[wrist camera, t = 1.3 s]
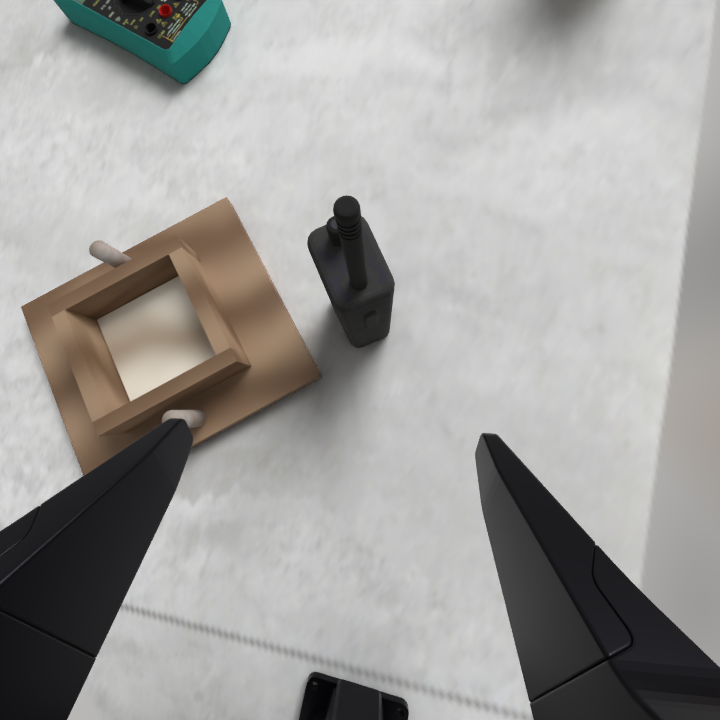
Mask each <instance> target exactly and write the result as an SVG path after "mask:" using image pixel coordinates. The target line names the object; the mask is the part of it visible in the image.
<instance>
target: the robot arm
mask: <svg viewBox="0 0 720 720" xmlns="http://www.w3.org/2000/svg"><path fill="white" fill-rule="evenodd" d="M192 444H193V435H192V432H191V430H190V428H189V426H188V424H187V422H186V421H185V420H184V419H182V418H170V419H168V420H166V421H165V422H163V423H162V424H160V425H159V426H157V427H156V428H154V429H153V430H151V431H150V432H148V433H147V434H145V435H144V436H142V437H141V438H139V439H138V440H136V441H135V442H133V443H132V444H130V445H129V446H127V447H126V448H125V449H123V450H122V451H120V452H119V453H117V454H116V455H114V456H113V457H111V458H110V459H108V460H107V461H105V462H104V463H102V464H101V465H99V466H98V467H96V468H95V469H93V470H92V471H90V472H89V473H87V474H86V475H84V476H83V477H81V478H80V479H78V480H77V481H75V482H74V483H72V484H71V485H69V486H68V487H66V488H65V489H63V490H62V491H60V492H59V493H57V494H56V495H54V496H53V497H51V498H50V499H48V500H47V501H45V502H44V503H42V504H41V506H38V507H36V508H35V509H33V510H32V511H30V512H29V513H27V514H26V515H24V516H23V517H21V518H20V519H18V520H17V521H15V522H14V523H12V524H11V525H9V526H8V527H6V528H5V529H3V530H2V531H0V720H67V718H68V716H69V714H70V712H71V710H72V708H73V706H74V704H75V702H76V700H77V697H78V695H79V693H80V691H81V689H82V687H83V685H84V683H85V681H86V679H87V676H88V674H89V672H90V670H91V668H92V666H93V664H94V662H95V660H96V658H95V657H97V655H98V653H99V651H100V649H101V647H102V644H103V642H104V640H105V638H106V636H107V634H108V632H109V630H110V628H111V626H112V623H113V621H114V619H115V617H116V615H117V613H118V611H119V609H120V607H121V605H122V602H123V600H124V598H125V596H126V594H127V592H128V590H129V588H130V586H131V584H132V581H133V579H134V577H135V575H136V573H137V571H138V569H139V567H140V565H141V563H142V560H143V558H144V556H145V554H146V552H147V550H148V548H149V546H150V544H151V541H152V539H153V537H154V535H155V533H156V531H157V529H158V527H159V525H160V523H161V520H162V518H163V516H164V514H165V512H166V510H167V508H168V506H169V504H170V502H171V499H172V497H173V495H174V493H175V491H176V488H177V486H178V483H179V481H180V478H181V475H182V472H183V469H184V467H185V464H186V461H187V458H188V455H189V453H190V450H191V447H192ZM475 459H476V467H477V474H478V482H479V490H480V498H481V505H482V510H483V515H484V519H485V523H486V527H487V532H488V536H489V540H490V544H491V548H492V552H493V556H494V560H495V564H496V568H497V572H498V576H499V580H500V584H501V588H502V592H503V596H504V600H505V604H506V608H507V612H508V616H509V621H510V625H511V629H512V633H513V637H514V641H515V645H516V649H517V653H518V657H519V661H520V665H521V669H522V673H523V677H524V681H525V685H526V689H527V693H528V697H529V701H530V702H531V703H530V706H531V710H532V714H533V718H534V720H720V667H719V666H717V665H716V663H714V662H713V661H712V660H711V659H710V658H709V657H708V656H707V655H706V654H705V653H704V652H703V651H702V650H701V649H700V648H699V647H698V646H697V645H696V644H695V643H694V642H693V641H692V640H691V639H689V638H688V637H687V636H686V635H685V634H684V633H683V632H682V631H681V630H680V629H679V628H678V627H677V626H676V625H675V624H674V623H673V622H672V621H671V620H670V619H669V618H668V617H667V616H666V615H664V613H663V612H662V611H660V610H659V609H658V608H657V607H656V606H655V605H654V604H653V603H652V602H651V601H650V600H649V599H648V598H647V597H646V596H645V595H644V594H643V593H642V592H641V591H640V590H639V589H638V588H637V587H636V586H635V585H634V584H633V583H632V582H631V581H630V580H629V579H628V577H627V576H626V575H625V574H624V573H623V572H622V571H621V570H620V569H619V568H618V567H617V566H616V565H615V564H614V563H613V562H612V560H611V559H610V558H609V557H608V556H607V555H606V554H605V553H604V552H603V551H602V549H601V548H600V547H599V546H598V545H595V542H594V541H593V540H592V539H591V537H590V536H589V535H588V534H587V533H586V532H585V531H584V530H583V529H582V528H581V526H580V525H579V524H578V523H577V522H576V521H575V520H574V519H573V518H572V517H571V515H570V514H569V513H568V512H567V511H566V510H565V509H564V508H563V507H562V505H561V504H560V503H559V502H558V501H557V500H556V499H555V498H554V497H553V496H552V494H551V493H550V492H549V491H548V490H547V489H546V488H545V487H544V486H543V485H542V483H541V482H540V481H539V480H538V479H537V478H536V477H535V476H534V475H533V473H532V472H531V471H530V470H529V469H528V468H527V467H526V466H525V465H524V464H523V462H522V461H521V460H520V459H519V458H518V457H517V456H516V455H515V454H514V452H513V451H512V450H511V449H510V448H509V447H508V446H507V445H506V444H505V443H504V441H503V440H502V439H501V438H500V437H499V436H498V435H497V434H492V433H483V434H481V436H480V439H479V442H478V445H477V448H476V452H475ZM313 681H315V682H317V683H318V685H314V684H313V683H312V682H313ZM398 708H402V709H403V711H398V710H397V709H398ZM408 715H409V711H408V704H407V702H406V701H405V700H404V699H403V698H400V697H397V696H393V695H390V694H387V693H384V692H380V691H378V690H376V689H372V688H369V687H366V686H362V685H359V684H356V683H353V682H349V681H346V680H343V679H342V680H341V679H338V678H335V677H331V676H328V675H325V674H322V673H318V672H313V673H311V674H310V675H309V678H308V681H307V685H306V690H305V694H304V699H303V704H302V708H301V713H300V717H299V720H408Z"/></svg>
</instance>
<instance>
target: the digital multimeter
mask: <svg viewBox="0 0 720 720" xmlns="http://www.w3.org/2000/svg"><path fill="white" fill-rule="evenodd" d="M54 1H55V2H56V4H57V5H58V6H59V7H60V9H61V10H62V11H63V12H64V14H65V15H66V16H67V17H68V19H69V20H70V21H71V22H72V23H74V24H77V25H79V26H81V27H83V28H85V29H87V30H89V31H91V32H93V33H95V34H97V35H99V36H101V37H103V38H105V39H107V40H109V41H111V42H113V43H115V44H117V45H118V46H120V47H122V48H124V49H126V50H128V51H130V52H131V53H133V54H135V55H136V56H138V57H140V58H141V59H143V60H145V61H146V62H148V63H150V64H151V65H153V66H155V67H156V68H158V69H159V70H161V71H163V72H164V73H166V74H167V75H169V76H170V77H172V78H173V79H175V80H177V81H178V82H180V83H182V84H185V83H187V82H188V81H189V80H190V79H192V78H193V77H194V76H195V75H196V74H198V73H199V72H200V71H201V70H202V69H203V68H204V67H205V66H206V65H207V64H208V63H209V62H210V60H211V59H212V58H213V56H214V55H215V54H216V53H217V51H218V50H219V48H220V46H221V44H222V42H223V41H224V39H225V37H226V34H227V32H228V30H229V28H230V25H231V22H230V20H229V17H228V15H227V12H226V9H225V7H224V4H223V2H222V0H54ZM89 8H90V9H89ZM94 11H95V12H94ZM96 12H97V13H96ZM98 13H99V14H98ZM122 13H123V14H122ZM100 14H101V15H100ZM105 17H106V18H105ZM107 18H108V19H107ZM109 19H110V20H109ZM114 22H115V23H114ZM116 23H117V24H116ZM118 24H119V25H118ZM120 25H121V26H120ZM125 28H126V29H125ZM127 29H128V30H127ZM129 30H130V31H129ZM131 31H132V32H131ZM138 35H139V36H138ZM140 36H141V37H140ZM142 37H143V38H142ZM149 41H150V42H149ZM151 42H152V43H151ZM153 43H154V44H153Z"/></svg>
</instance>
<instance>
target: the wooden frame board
mask: <svg viewBox="0 0 720 720" xmlns="http://www.w3.org/2000/svg"><path fill="white" fill-rule="evenodd" d="M89 251H90V254H91V255H92V256H94V257H95V258H97V259H99V260H101V261H103V262H104V263H102V264H100V265H98V266H96V267H95V268H93V269H91V270H89V271H87V272H85V273H83V274H82V275H80V276H78V277H76V278H74V279H72V280H70V281H68V282H67V283H65V284H63V285H61V286H59V287H57V288H55V289H53V290H52V291H50V292H48V293H46V294H44V295H42V296H40V297H38V298H37V299H35V300H33V301H31V302H29V303H27V304H25V305H23V306H22V307H21V308H22V311H23V314H24V316H25V319H26V322H27V324H28V327H29V330H30V333H31V335H32V338H33V341H34V343H35V346H36V349H37V351H38V354H39V357H40V359H41V362H42V365H43V368H44V370H45V373H46V376H47V378H48V381H49V384H50V386H51V389H52V392H53V394H54V397H55V400H56V403H57V405H58V408H59V411H60V413H61V416H62V419H63V421H64V424H65V427H66V430H67V432H68V435H69V438H70V440H71V443H72V446H73V448H74V451H75V454H76V456H77V459H78V462H79V465H80V467H81V470H82V473H83V475H86V474H87V473H89V472H90V471H92V470H93V469H95V468H96V467H98V466H99V465H101V464H102V463H104V462H105V461H107V460H108V459H110V458H111V457H113V456H114V455H116V454H117V453H119V452H120V451H122V450H123V449H125V448H126V447H127V446H129V445H130V444H132V443H133V442H135V441H136V440H138V439H139V438H141V437H142V436H144V435H145V434H147V433H148V432H150V431H151V430H153V429H154V428H156V427H157V426H159V425H160V424H162V423H163V422H165V421H166V420H168V419H170V418H182V419H184V420H185V421H186V422H187V424H188V426H189V428H190V430H191V432H192V435H193V444H192V447H191V448H193V447H195V446H197V445H199V444H201V443H202V442H204V441H206V440H208V439H210V438H212V437H213V436H215V435H217V434H219V433H221V432H223V431H224V430H226V429H228V428H230V427H232V426H234V425H235V424H237V423H239V422H241V421H243V420H245V419H246V418H248V417H250V416H252V415H254V414H256V413H257V412H259V411H261V410H263V409H265V408H267V407H268V406H270V405H272V404H274V403H276V402H277V401H279V400H281V399H283V398H285V397H287V396H288V395H290V394H292V393H294V392H296V391H298V390H299V389H301V388H303V387H305V386H307V385H309V384H310V383H312V382H314V381H316V380H318V379H320V378H321V377H322V376H321V374H320V372H319V370H318V368H317V366H316V364H315V362H314V361H313V359H312V357H311V355H310V353H309V351H308V349H307V347H306V345H305V343H304V341H303V339H302V338H301V336H300V334H299V332H298V330H297V328H296V326H295V324H294V322H293V320H292V318H291V317H290V315H289V313H288V311H287V309H286V307H285V305H284V303H283V301H282V299H281V297H280V295H279V294H278V292H277V290H276V288H275V286H274V284H273V282H272V280H271V278H270V276H269V274H268V273H267V271H266V269H265V267H264V265H263V263H262V261H261V259H260V257H259V255H258V253H257V252H256V250H255V248H254V246H253V244H252V242H251V240H250V238H249V236H248V234H247V232H246V230H245V229H244V227H243V225H242V223H241V221H240V219H239V217H238V215H237V213H236V211H235V209H234V208H233V206H232V204H231V203H230V201H229V200H228V199H227V197H226V198H224V199H222V200H220V201H218V202H216V203H214V204H213V205H211V206H209V207H207V208H205V209H203V210H201V211H199V212H198V213H196V214H194V215H192V216H190V217H188V218H186V219H184V220H183V221H181V222H179V223H177V224H175V225H173V226H171V227H169V228H168V229H166V230H164V231H162V232H160V233H158V234H156V235H155V236H153V237H151V238H149V239H147V240H145V241H143V242H141V243H140V244H138V245H136V246H134V247H132V248H130V249H128V250H126V251H125V252H123V253H121V252H120V251H118V250H116V249H115V248H113V247H111V246H110V245H108V244H106V243H105V242H103V241H95V242H93V243H92V244H91V246H90V249H89Z"/></svg>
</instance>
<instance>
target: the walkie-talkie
mask: <svg viewBox="0 0 720 720" xmlns="http://www.w3.org/2000/svg"><path fill="white" fill-rule="evenodd" d="M333 212H334V216H333V217H331V218H330V219H329V220H328V221H327V225H325V226H322V227H320V228H318V229H315V230H314V231H313V232H311V234H310V235H309V237H308V243H307V244H308V249H309V251H310V254H311V256H312V258H313V261H314V263H315V265H316V268H317V270H318V273H319V275H320V277H321V280H322V282H323V284H324V287H325V289H326V291H327V294H328V296H329V298H330V301H331V303H332V305H333V307H334V309H335V312H336V314H337V316H338V318H339V320H340V322H341V324H342V326H343V329H344V331H345V333H346V335H347V337H348V339H349V341H350V343H351V344H352V345H353V346H355V347H363V346H365V345H367V344H370V343H372V342H374V341H377V340H379V339H381V338H384V337H385V336H387V335H388V333H389V329H390V321H391V312H392V303H393V294H394V285H395V283H394V279H393V276H392V274H391V272H390V270H389V268H388V266H387V264H386V261H385V259H384V257H383V255H382V253H381V251H380V249H379V246H378V244H377V242H376V240H375V238H374V236H373V233H372V231H371V229H370V227H369V225H368V223H367V222H366V220H365V219H364V218H363V217H362V216H361V211H360V205H359V203H358V201H357V200H356V199H355V198H354V197H352V196H342V197H340V198H339V199H337V200H336V202H335V204H334V208H333Z"/></svg>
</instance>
